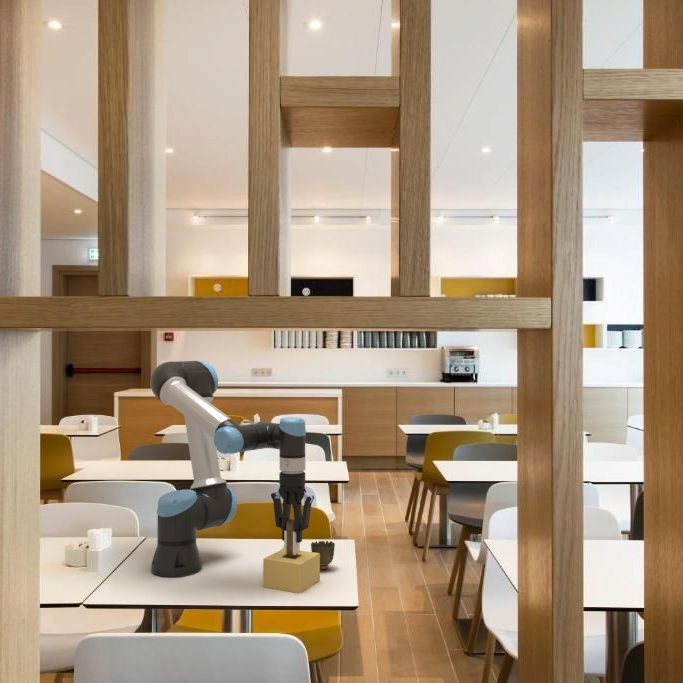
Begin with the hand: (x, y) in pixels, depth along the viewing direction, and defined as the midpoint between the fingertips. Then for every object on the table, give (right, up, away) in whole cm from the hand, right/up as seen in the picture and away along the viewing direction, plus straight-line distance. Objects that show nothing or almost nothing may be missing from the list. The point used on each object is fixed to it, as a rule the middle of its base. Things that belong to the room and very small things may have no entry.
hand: (291, 552), depth 210 cm
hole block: (0, -9, 0) cm, 9 cm away
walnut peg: (0, -5, 0) cm, 5 cm away
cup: (+9, -9, +14) cm, 19 cm away
